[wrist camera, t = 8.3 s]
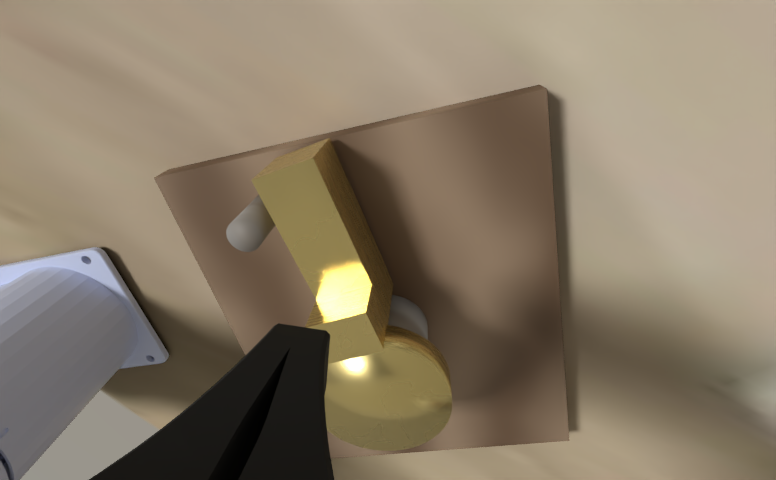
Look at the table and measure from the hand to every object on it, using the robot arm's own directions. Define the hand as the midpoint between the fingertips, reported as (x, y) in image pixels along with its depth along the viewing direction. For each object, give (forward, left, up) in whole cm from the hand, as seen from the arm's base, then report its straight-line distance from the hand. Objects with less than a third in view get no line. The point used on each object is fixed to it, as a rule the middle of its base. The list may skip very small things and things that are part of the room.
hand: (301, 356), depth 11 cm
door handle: (-1, -3, -9) cm, 9 cm away
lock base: (0, -7, -10) cm, 12 cm away
